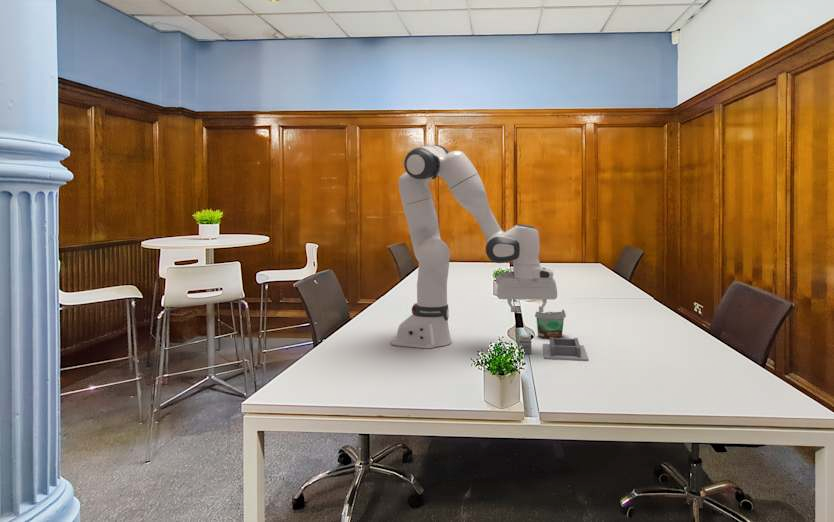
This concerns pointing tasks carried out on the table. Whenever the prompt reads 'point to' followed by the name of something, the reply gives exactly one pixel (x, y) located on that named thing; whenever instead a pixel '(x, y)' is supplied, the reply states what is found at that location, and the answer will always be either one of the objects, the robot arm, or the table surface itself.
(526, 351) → the servo
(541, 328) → the food container
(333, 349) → the table surface
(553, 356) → the pocket
